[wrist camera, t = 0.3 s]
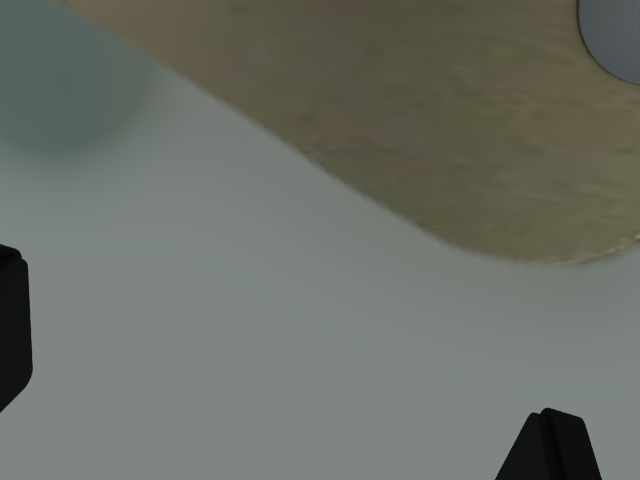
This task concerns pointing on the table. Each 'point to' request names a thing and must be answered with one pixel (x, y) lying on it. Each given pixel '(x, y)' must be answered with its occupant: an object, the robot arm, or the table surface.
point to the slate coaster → (612, 35)
